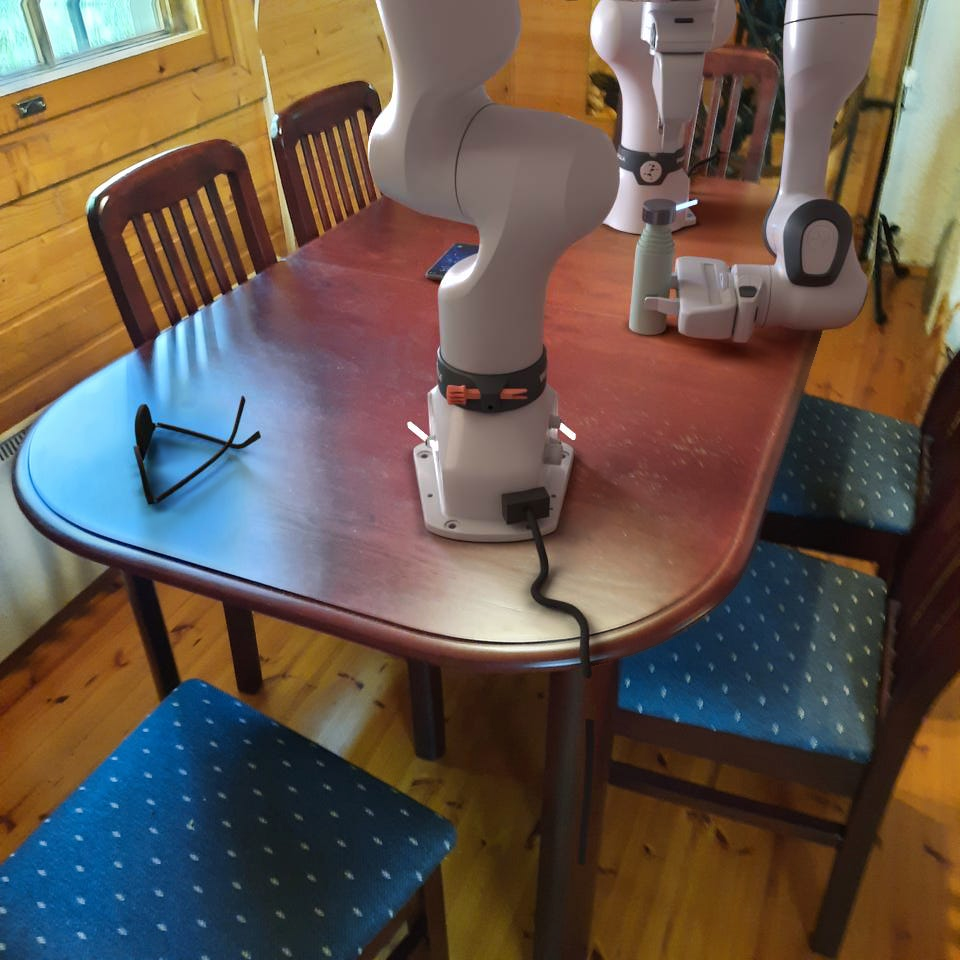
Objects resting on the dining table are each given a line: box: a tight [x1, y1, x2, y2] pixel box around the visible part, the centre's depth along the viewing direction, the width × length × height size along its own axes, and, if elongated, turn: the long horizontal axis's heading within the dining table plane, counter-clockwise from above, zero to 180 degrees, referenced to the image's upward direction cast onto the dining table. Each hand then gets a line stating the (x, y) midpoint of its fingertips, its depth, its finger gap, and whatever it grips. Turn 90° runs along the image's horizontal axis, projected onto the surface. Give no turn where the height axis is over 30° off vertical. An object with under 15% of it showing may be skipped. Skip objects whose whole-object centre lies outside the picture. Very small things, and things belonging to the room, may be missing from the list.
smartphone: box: [424, 242, 480, 282], centre depth 146 cm, size 7×1×15 cm
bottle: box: [628, 223, 676, 336], centre depth 121 cm, size 5×5×18 cm
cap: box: [642, 199, 676, 225], centre depth 116 cm, size 4×4×2 cm
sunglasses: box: [132, 395, 262, 506], centre depth 100 cm, size 17×14×5 cm
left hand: (666, 142), depth 111 cm, fingers open, 7 cm apart
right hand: (644, 292), depth 124 cm, fingers closed on bottle, 5 cm apart
